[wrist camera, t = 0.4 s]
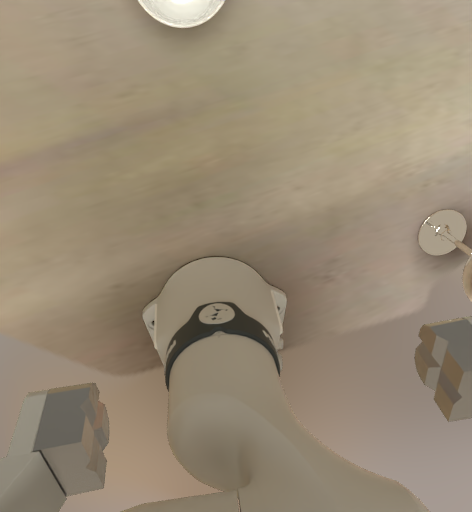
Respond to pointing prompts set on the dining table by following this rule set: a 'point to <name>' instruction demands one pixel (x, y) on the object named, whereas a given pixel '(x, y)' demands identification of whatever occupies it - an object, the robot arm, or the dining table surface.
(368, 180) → the dining table surface
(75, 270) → the dining table surface
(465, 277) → the wineglass
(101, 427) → the robot arm
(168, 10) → the white cup
